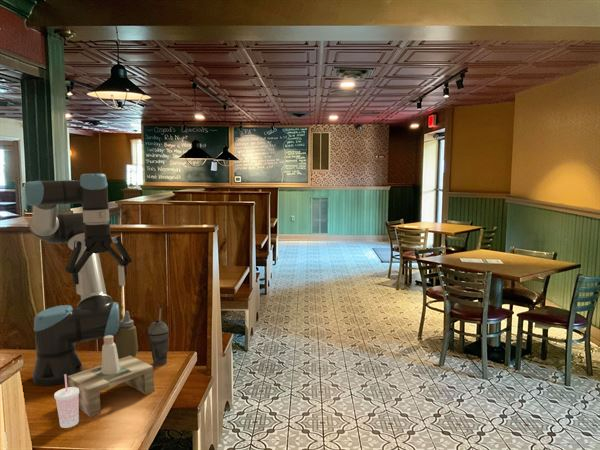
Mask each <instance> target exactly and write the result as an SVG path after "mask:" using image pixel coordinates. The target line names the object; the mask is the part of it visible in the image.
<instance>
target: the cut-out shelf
mask: <svg viewBox="0 0 600 450" xmlns="http://www.w3.org/2000/svg"><path fill="white" fill-rule="evenodd" d="M119 364H120V370H119V371H118V372H117V373H114V374H111V375H104V374H103V373H102V372H101V368H102V364H101V365H97V366H94V367H92V368H91V367H90V368H88V369H85V370H83V371H82V372H79V373H76V374H73V375H70V376H68V382H67V387H77V388H79V394H78V399H79V411H82V412H83V413H84V414H85V415H87V416H88V417H90V418H91V417H94V416H96V414H97V415H99V414H101V413H102V411H101V408H102V407H101V398H100V397H101V395H100V392H101V391H104V390H106V389H108V388H111V387H113V386H117V385H119V384H123V383H125V384H126V385H127V386H130V387H131V388H133V387H134V389H135V390H137V391H139V392H140V391H141V393H143V394H144V395H148V394H151V393H153V392H155V380H154V379H155V378H154V365H151V364H149V363H147V362H145V361H144V360H143V361H142V360H140V359H138V358H137V357H135V358H134V357H132V356H127V357H124V358H121V359H119ZM98 413H99V414H98Z"/></svg>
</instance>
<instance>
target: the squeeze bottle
mask: <svg viewBox="0 0 600 450" xmlns="http://www.w3.org/2000/svg"><path fill="white" fill-rule="evenodd" d="M130 316H131V315H130V312H129V311H128V310H125V311H124V316H123V319H122V320H119V329H118V332H117V333H116V336H115V337H116V338H115V344H116V348H117V354H118V359H121V358H124V357H127V356H132V357H134V358H136V355H137V354H138V353H137V352H138V350H139V346H138V336H137V327H136V326H135V325H134V320H133V319H131V317H130Z"/></svg>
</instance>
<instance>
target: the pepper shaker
mask: <svg viewBox="0 0 600 450" xmlns="http://www.w3.org/2000/svg"><path fill="white" fill-rule="evenodd" d="M101 365H102V368H101V372H102V373H103V374H104V375H111V374H114V373H117V372H118V371H119V370H120V364H119V359H118V354H117V348H116V342H114V335H113V336H112V335H107V336H105V337H104V338H103V344H102V347H101Z"/></svg>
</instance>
